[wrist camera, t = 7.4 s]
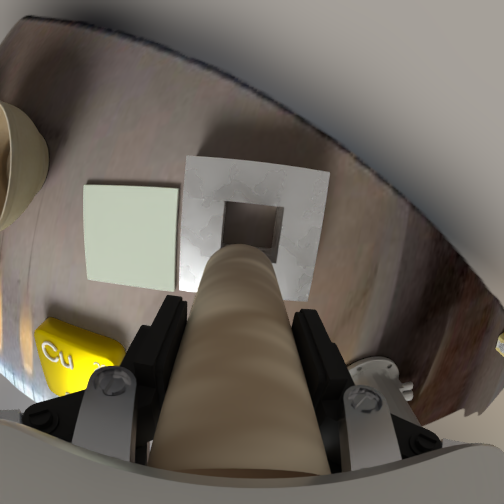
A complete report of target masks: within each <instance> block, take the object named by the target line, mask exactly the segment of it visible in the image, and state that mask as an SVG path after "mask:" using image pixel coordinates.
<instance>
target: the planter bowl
mask: <svg viewBox="0 0 504 504" xmlns="http://www.w3.org/2000/svg"><path fill="white" fill-rule="evenodd" d="M48 166H49V153H48V147H47V144H46V141H45V139H44V138H43V136H42V135H41V134H40V133H39V132H38V130H37V128H36V126H35V125H34V123H33V122H32V120H31V119H30V118H29V117H28V116H27V115H26V114H25V113H24V112H23V111H21V110H20V109H19V108H17V107H15V106H13V105H11V104H8V103H5V102H2V101H0V231H2V230H4V229H5V228H7V227H8V226H9V225H11V224H12V223H13V222H14V221H15V220H16V219H18V218H19V217H20V215H21V214H22V213H23V212H24V211H25V210H26V208H27V207H28V206H29V204H30V203H31V201H32V199H33V198H34V196H35V195H36V194H37V193H38V192H39V190H40V189H41V187H42V186H43V184H44V181H45V179H46V176H47V172H48Z"/></svg>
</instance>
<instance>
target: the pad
mask: <svg viewBox="0 0 504 504" xmlns="http://www.w3.org/2000/svg"><path fill="white" fill-rule="evenodd" d="M178 200H179V188H167V187H150V186H127V185H87V184H86V185H84V192H83V216H84V242H85V257H86V268H87V278H88V280H94V281H100V282H107V283H113V284H120V285H127V286H134V287H141V288H149V289H156V290H164V291H172V292H174V291H175V270H176V236H177V216H178Z"/></svg>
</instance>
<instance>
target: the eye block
mask: <svg viewBox="0 0 504 504" xmlns="http://www.w3.org/2000/svg"><path fill="white" fill-rule="evenodd" d="M329 176H330V172H325V171H319V170H313V169H307V168H301V167H294V166H287V165H280V164H273V163H265V162H256V161H247V160H237V159H227V158H215V157H201V156H187V157H186V167H185V179H184V191H183V205H182V221H181V242H180V273H179V290H183V291H192V292H197V290H198V287H199V284H200V281H201V278H202V275H203V272H204V269H205V266H206V264H207V262H208V260H209V259H210V257H211V256H212V255H213V254H214V253H215V252H216V251H218V250H219V249H221V248H223V247H225V246H228V245H233V244H224V243H223V237H224V226H225V215H226V205H227V201H232V202H242V203H251V204H261V205H269V206H277V209H276V216H275V224H274V231H273V239H272V246H271V248H264V247H255V248H257V249H259V250H261V251H262V252H263V253H264V254H265V255H266V256H267V257H268V258H269V260H270V261H271V263H272V265H273V268H274V271H275V274H276V278H277V281H278V285H279V288H280V291H281V295H282V298H283V300H292V301H308V296H309V292H310V287H311V282H312V277H313V272H314V267H315V262H316V256H317V251H318V246H319V240H320V234H321V229H322V223H323V217H324V210H325V204H326V197H327V191H328V184H329ZM253 247H254V246H253Z"/></svg>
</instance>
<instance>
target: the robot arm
mask: <svg viewBox="0 0 504 504" xmlns="http://www.w3.org/2000/svg"><path fill="white" fill-rule="evenodd" d="M186 324H187V301H182V297H179V296H172V295H167V296H166V298H165V300H164V302H163V304H162V306H161V308H160V309H159V311H158V313H157V315H156V317H155V319H154V321H153V323H152V325H151V326H147V325H142V326H141V327H140V329H139V330H138V332H137V334H136V336H135V338H134V340H133V341H132V343H131V345H130V347H129V349H128V351H127V353H126V354H125V356H124V358H123V360H122V362H121V364H120V366H104V367H101V368H99V369H97V370H95V371H94V372H93V373H92V374H91V376H90V377H89V380H88V383H87V386H86V389H84V390H81V391H77V392H74V393H71V394H67V395H64V396H61V397H57V398H54V399H50V400H46V401H43V402H39V403H36V404H33V405H31V406H30V407H28V408H27V409H26V410H25V412H24V413H21V411H20V410H0V504H504V452H503V451H502V450H500V449H499V448H498V447H496V446H494V445H490V444H484V443H464V442H459V441H453V440H448V439H442V440H441V441H440V440H439V438H438V436H437V435H436V434H434V433H433V432H431V431H430V430H427V429H425V428H423V427H421V425H420V423H419V421H418V420H417V418H416V416H415V415H414V413H413V411H412V409H411V408H410V406H409V404H408V403H407V401H409V400H411V399H412V398H413V392H412V391H411V389H412V388H413V383H412V382H407V383H403V384H402V383H401V382H400V381H399V379H398V378H399V370H398V368H397V366H396V365H395V363H394V362H393V361H392V360H391V359H389V358H386V357H380V356H378V357H370V358H365V359H362V360H360V361H357V362H355V363H353V364H351V365H350V366H348V367H347V366H346V364H345V362H344V360H343V358H342V356H341V354H340V352H339V349H338V347H337V345H336V344H335V343H332V342H331V340H330V338H329V336H328V334H327V332H326V330H325V328H324V325H323V323H322V321H321V319H320V317H319V315H318V313H317V311H316V310H312V309H301V310H300V312H296V313H295V315H294V319H293V323H292V328H291V329H292V332H293V336H294V339H295V343H296V346H297V350H298V353H299V357H300V361H301V364H302V368H303V371H304V375H305V378H306V382H307V386H308V389H309V393H310V396H311V400H312V404H313V407H314V411H315V415H316V418H317V422H318V426H319V429H320V433H321V437H322V441H323V444H324V448H325V452H326V456H327V460H328V464H329V467H330V471H331V474H328V475H319V476H309V477H297V478H275V479H249V478H227V477H214V476H204V475H196V474H188V473H181V472H175V471H169V470H163V469H158V468H153V467H149V466H147V463H148V459H149V455H150V442H149V441H151V440H153V439H154V435H155V431H156V427H157V423H158V420H159V416H160V412H161V409H162V405H163V401H164V398H165V394H166V391H167V387H168V384H169V380H170V377H171V373H172V370H173V366H174V363H175V360H176V356H177V353H178V350H179V346H180V343H181V340H182V337H183V334H184V330H185V327H186ZM403 390H407V391H403Z"/></svg>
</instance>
